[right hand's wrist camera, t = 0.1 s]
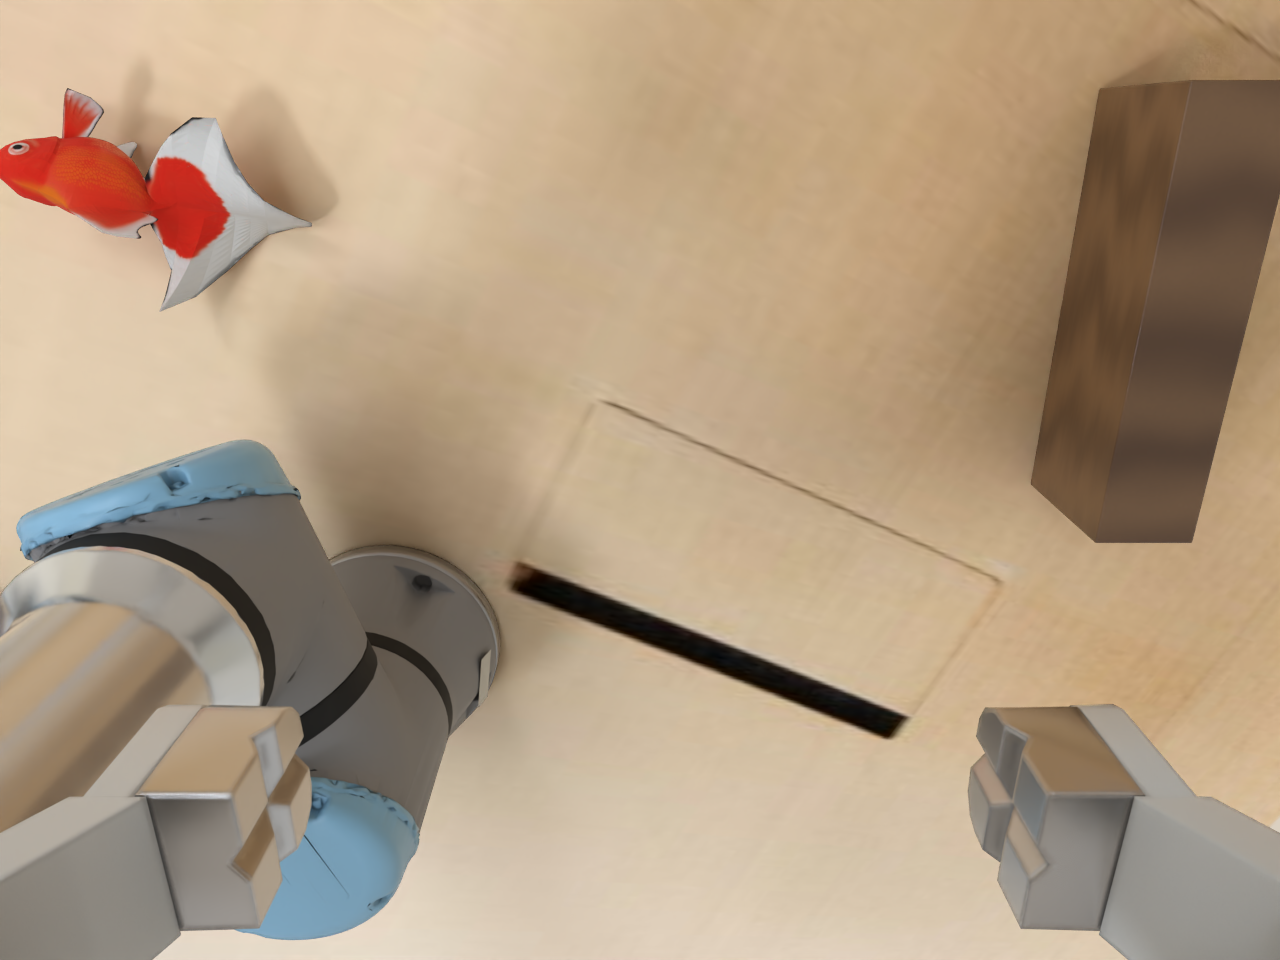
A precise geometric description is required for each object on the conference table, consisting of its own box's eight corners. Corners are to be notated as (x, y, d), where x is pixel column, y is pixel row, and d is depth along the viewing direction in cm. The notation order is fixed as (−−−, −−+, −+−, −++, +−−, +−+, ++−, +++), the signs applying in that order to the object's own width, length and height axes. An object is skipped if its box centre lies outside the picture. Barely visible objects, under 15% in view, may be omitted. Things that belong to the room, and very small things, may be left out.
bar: (1098, 88, 52) (1191, 79, 43) (1197, 88, 52) (1309, 80, 43) (1030, 484, 61) (1095, 543, 52) (1113, 484, 61) (1192, 543, 52)
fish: (40, -13, 46) (-11, 85, 40) (338, 129, 54) (333, 228, 48) (4, 152, 52) (-45, 259, 46) (277, 256, 61) (266, 357, 55)
